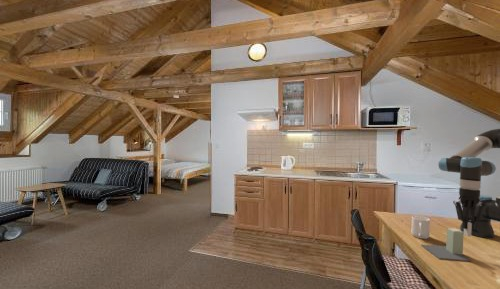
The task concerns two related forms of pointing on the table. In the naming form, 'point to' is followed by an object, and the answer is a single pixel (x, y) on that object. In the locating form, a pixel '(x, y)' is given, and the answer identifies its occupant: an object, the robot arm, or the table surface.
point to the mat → (444, 253)
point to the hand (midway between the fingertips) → (467, 235)
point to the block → (454, 241)
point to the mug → (420, 227)
